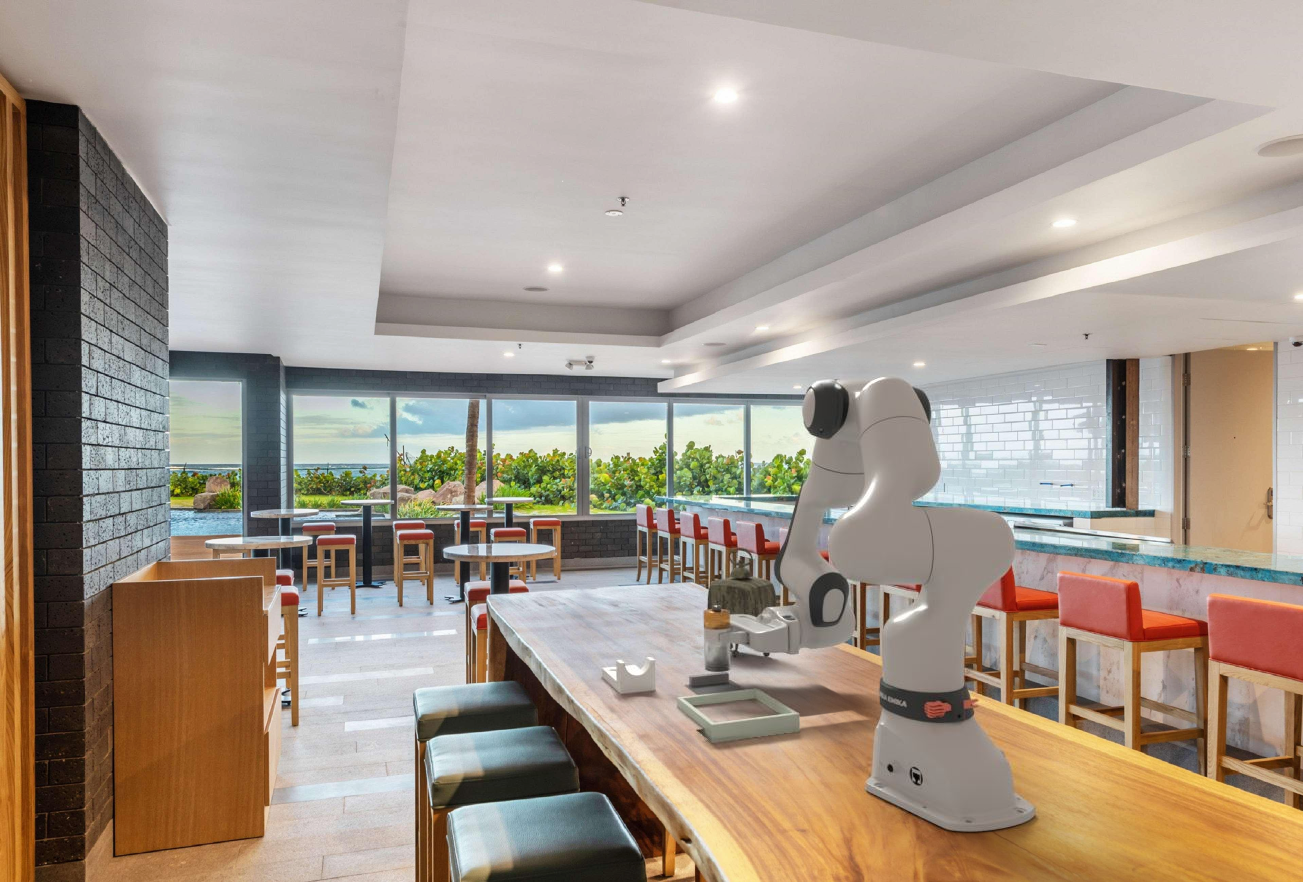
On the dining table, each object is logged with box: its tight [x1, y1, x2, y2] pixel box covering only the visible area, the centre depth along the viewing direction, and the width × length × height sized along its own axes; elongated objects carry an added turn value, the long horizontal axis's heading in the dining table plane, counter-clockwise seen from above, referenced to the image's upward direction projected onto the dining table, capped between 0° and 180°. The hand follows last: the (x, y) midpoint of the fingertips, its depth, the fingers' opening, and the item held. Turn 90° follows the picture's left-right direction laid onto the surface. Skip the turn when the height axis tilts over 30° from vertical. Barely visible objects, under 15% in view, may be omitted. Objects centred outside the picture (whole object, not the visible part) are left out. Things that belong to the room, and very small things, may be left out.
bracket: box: [601, 656, 657, 695], centre depth 162 cm, size 13×7×8 cm, turn 19°
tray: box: [676, 687, 801, 744], centre depth 142 cm, size 16×16×3 cm
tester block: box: [684, 671, 747, 695], centre depth 157 cm, size 10×10×3 cm
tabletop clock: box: [706, 547, 778, 658], centre depth 190 cm, size 14×9×25 cm, turn 47°
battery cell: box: [702, 605, 732, 673], centre depth 157 cm, size 5×5×12 cm
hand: (712, 634), depth 157 cm, fingers closed on battery cell, 5 cm apart
